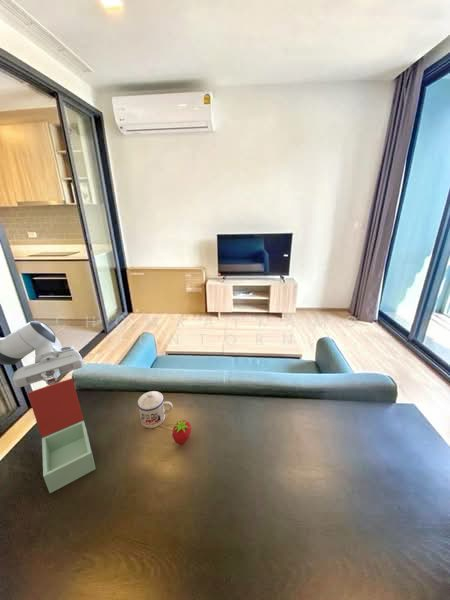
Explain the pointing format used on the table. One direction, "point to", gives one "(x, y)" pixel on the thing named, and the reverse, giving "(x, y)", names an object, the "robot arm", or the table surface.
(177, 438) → the strawberry
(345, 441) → the table surface
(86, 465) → the box
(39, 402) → the lid
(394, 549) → the table surface
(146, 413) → the teacup with lid
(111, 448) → the table surface
